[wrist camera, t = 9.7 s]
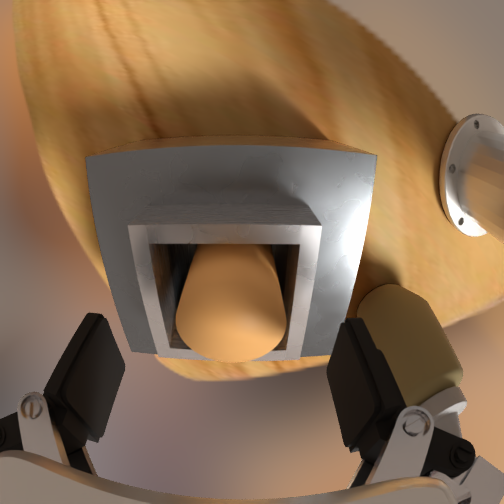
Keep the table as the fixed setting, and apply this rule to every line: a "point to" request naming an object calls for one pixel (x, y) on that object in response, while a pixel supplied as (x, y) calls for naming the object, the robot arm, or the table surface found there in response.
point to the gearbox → (231, 228)
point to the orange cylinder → (232, 303)
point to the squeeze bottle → (416, 352)
